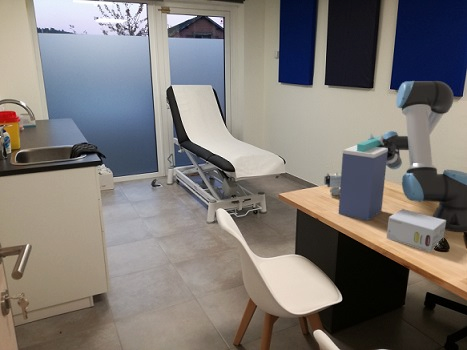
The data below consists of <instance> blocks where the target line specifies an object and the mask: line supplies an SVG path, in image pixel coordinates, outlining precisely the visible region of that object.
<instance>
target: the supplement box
mask: <svg viewBox="0 0 467 350" xmlns="http://www.w3.org/2000/svg"><path fill="white" fill-rule="evenodd" d="M445 225H446V220H443V219H439V218H435V217H433V216H431V215H428V214H423V213H418V212H416V211H412V210H408V209H405V208H401V209H400V210H399V211H396V212H395V213H394V214H392V215H390V216H388V224H387V230H386V231H387V232H386V239H387V240H391V241H394V242H397V243H400V244H404V245H405V246H410V247H413V248H416V249H420V250H422V251H426V252H429V253H431V252H432V251H434V250H435V249H436V248H435V246H436V245H437V243H438V242H439V241H440V240H441V239H442V238H443V239H444V237H445V231H446V229H445ZM434 248H435V249H434Z"/></svg>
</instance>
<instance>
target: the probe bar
mask: <svg viewBox="0 0 467 350" xmlns="http://www.w3.org/2000/svg"><path fill="white" fill-rule="evenodd" d="M379 137H380V136H374V138H373V139H370V140H368V139H367V140H365V141H362V142H360V143H358V144H356V145H357V151H361V152H364V151H367V150H369V149H372V148H374V147H376V146H379V145H381V143H380V141H379Z"/></svg>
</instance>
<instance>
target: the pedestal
mask: <svg viewBox="0 0 467 350" xmlns="http://www.w3.org/2000/svg"><path fill="white" fill-rule="evenodd" d="M387 152H388V148H382V147H374V148H372V149H369V150H367V151H364V152H361V151H357V144H356V145H353V146H351V147H347V148H345V149H343V150H342V161H341V171H340V172H341V173H340V174H341V185H340V187H339V189H340V195H339V201H338V215H343V216H347V217H350V218H354V219H357V220H358V219H359V220H363V221H366V222H369V221H370V220H372V219H373V218H374V217H375V216H377V215H378V214H379V213H381V212H382V208H383V200H384V199H383V198H384V190H385V188H384V187H385V181H386V180H385V179H386V170H387V165H386V162H387Z"/></svg>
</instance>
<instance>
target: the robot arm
mask: <svg viewBox="0 0 467 350" xmlns="http://www.w3.org/2000/svg"><path fill="white" fill-rule="evenodd" d="M395 103H396V107H397V108H399V109H401V113H402V114H403V115H404V116H405V119H406V132H407V133H406V134H407V135H399V134H398V131H393V130H390V131H387V132H385V133H383V134H379V136H378V137H379V141H380V143H381V145H379V146H376V147H382V148H388V152H387V162H386V167H388V168H389V169H390V170H397V169H400V168H401V166H402V165H403V164H402V163H403V162H402V158H401V156H400V151H408V157H409V158H408V159H409V167H408V168H407V169H406V173H404V174H403V175H402V177H401V178H402V180H401V181H402V182H401V187H402V191H403V194H404V196H405V198H406V199H407V200H409V201H411V202H419V203H421V202H435V203H438V206H437V208H436V210H435V211H434V213H433V215H432V217H435V218H439V219H443V220H446V225H445V231H450V232H461V233H462V232H463V233H464V232H467V172H464V171H461V170H454V169H444V170H443V172H442V173H438V169H437V167H436V166H434V165H433V160H432V159H433V158H432V148H431V138H430V136H431V134H432V132H433V131H434V130H435V127H436V126H437V124H438V123H439V122H440V120H441V119H442V117H443V116H444V115H445V114H447V113H448V112H449V111H450V109H451V108H452V107H453V103H454V92H453V90H452V89H451V87H450V86H449V85H448V84H447V83H445V82H443V81H438V80H433V81H432V80H430V81H429V80H428V81H425V80H424V81H422V80H421V81H418V80H417V81H415V80H412V81H411V80H410V81H404V82H402V83H401V84H400V86H399V88H398V91H397V94H396V102H395ZM373 138H375V136H374V135H373V134H372V133H369V134H368V138H367V140H370V139H373Z"/></svg>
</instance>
